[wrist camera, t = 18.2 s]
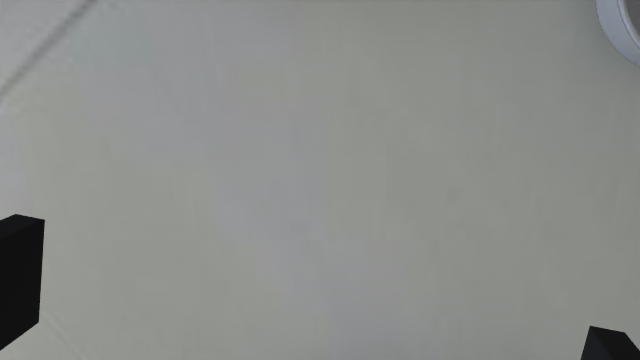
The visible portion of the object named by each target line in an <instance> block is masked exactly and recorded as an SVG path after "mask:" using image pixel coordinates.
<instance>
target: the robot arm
mask: <svg viewBox="0 0 640 360" xmlns="http://www.w3.org/2000/svg"><path fill="white" fill-rule="evenodd" d="M44 223H45V220H43V219H38V218H33V217H28V216H23V215H18V214H15V215H12V216H10V217H7V218H5V219H2V220H0V350H2V349H3V348H5V347H6V346H7V345H9V344H10V343H11V342H13V341H14V340H15V339H17V338H18V337H19V336H21V335H22V334H24V333H25V332H26V331H28V330H29V329H30V328H32V327H33V326H34V325H36V324H37V323H38V322H39V308H40V291H41V274H42V257H43V240H44ZM581 360H640V351H639V349H638V348H637V347H636V346H635V345H634V343H633V342H632V341H631V340H630V338H629V337H628V336H627V335H626V333H625V332H619V331H614V330H609V329H604V328H599V327H594V326H590V327H589V331H588V335H587V339H586V342H585V346H584V350H583V353H582V357H581Z"/></svg>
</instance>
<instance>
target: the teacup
mask: <svg viewBox="0 0 640 360" xmlns="http://www.w3.org/2000/svg"><path fill="white" fill-rule="evenodd" d="M596 7H597V12H598V17H599V20H600V23H601V26H602V28H603V31H604V33H605V35H606V36H607V38H608V40H609V41H610V42H611V44H612V45H613V46H614V47H615V49H616V50H617V51H618V52H619V53H620V54H621V55H622V56H623V57H625V58H626V59H627V60H629V61H630V62H631V63H633V64H635V65H636V66H638V67H640V0H596Z"/></svg>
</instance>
